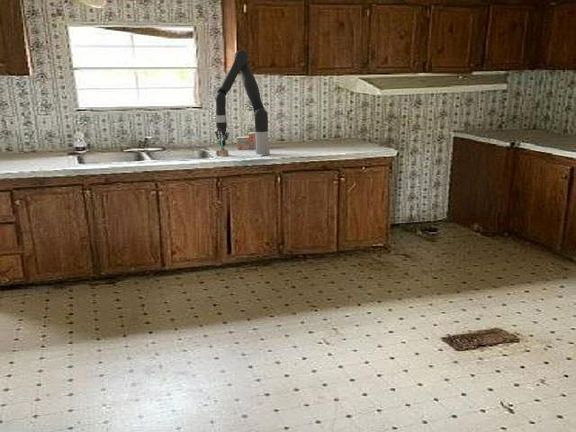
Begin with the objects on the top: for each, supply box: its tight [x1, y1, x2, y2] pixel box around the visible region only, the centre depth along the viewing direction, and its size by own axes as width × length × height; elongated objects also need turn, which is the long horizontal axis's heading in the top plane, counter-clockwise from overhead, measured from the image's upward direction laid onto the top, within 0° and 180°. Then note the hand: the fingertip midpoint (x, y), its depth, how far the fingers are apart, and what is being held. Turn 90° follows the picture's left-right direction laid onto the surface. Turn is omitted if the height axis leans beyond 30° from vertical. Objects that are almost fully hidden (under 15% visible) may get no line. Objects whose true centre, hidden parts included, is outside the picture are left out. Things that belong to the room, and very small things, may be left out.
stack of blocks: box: [236, 131, 256, 150], centre depth 431 cm, size 21×6×12 cm, turn 95°
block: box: [217, 148, 229, 157], centre depth 399 cm, size 5×5×4 cm
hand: (222, 145), depth 397 cm, fingers closed
